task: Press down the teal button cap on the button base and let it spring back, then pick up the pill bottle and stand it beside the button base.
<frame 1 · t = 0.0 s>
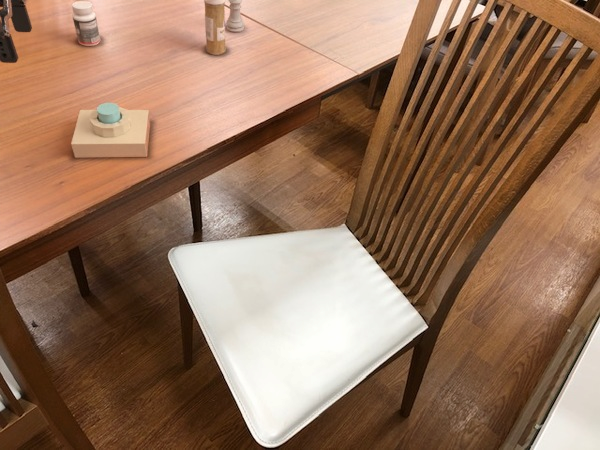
hand: (17, 45, 70), 21 cm above the table, tool pointing down, fingers open, 8 cm apart
rook chess piece: (235, 29, 125), on the table
teal button cap: (108, 113, 87), point 6 cm above the table, slide at 0.1 cm
button base: (114, 139, 91), on the table
sprinkles bottle: (215, 51, 117), on the table
pill bottle: (89, 42, 114), on the table
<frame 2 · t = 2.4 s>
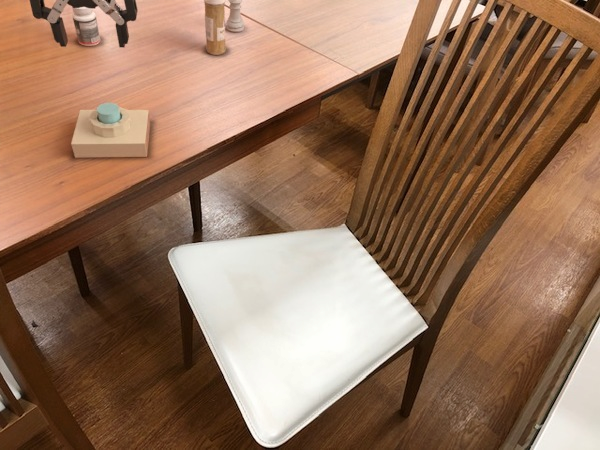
hand: (93, 44, 78), 18 cm above the table, tool pointing down, fingers open, 8 cm apart
nothing on the table moved.
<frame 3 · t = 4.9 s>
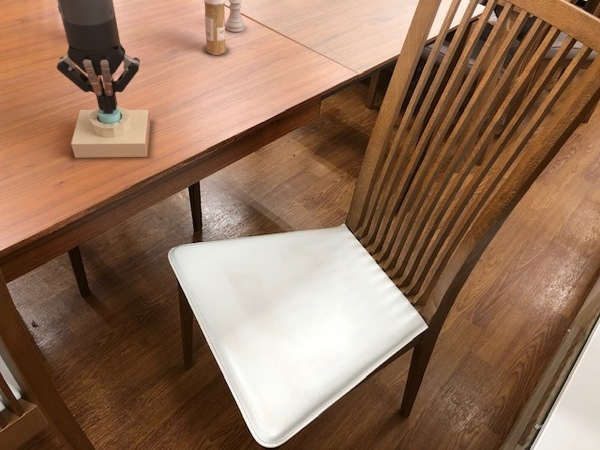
hand: (109, 110, 87), 6 cm above the table, tool pointing down, fingers closed
teal button cap: (109, 116, 88), point 5 cm above the table, slide at -0.5 cm, touching gripper
everything else where it was.
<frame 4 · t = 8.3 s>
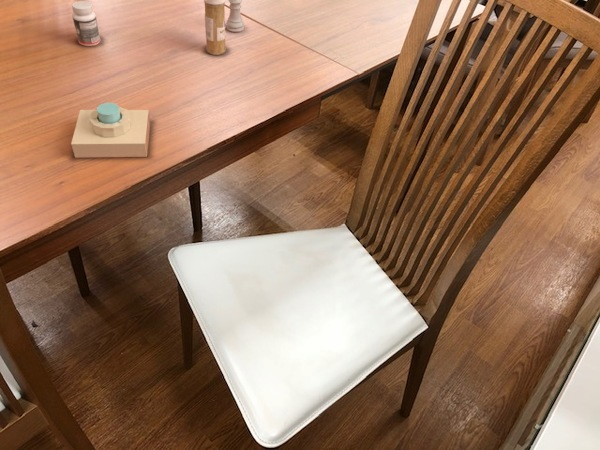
teal button cap: (108, 113, 87), point 6 cm above the table, slide at 0.1 cm
everything else where it was.
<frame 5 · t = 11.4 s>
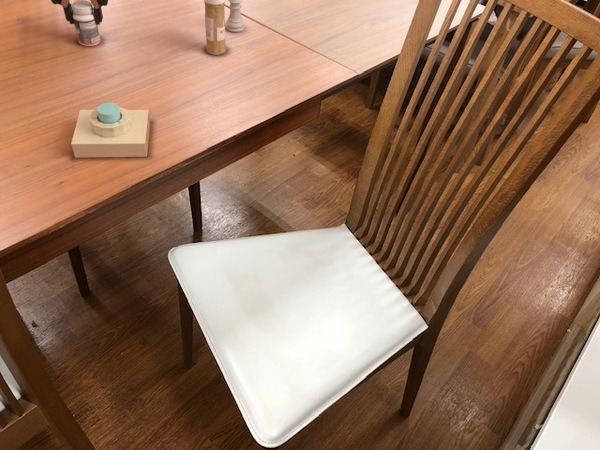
hand: (85, 22, 111), 4 cm above the table, tool pointing down, fingers closed on pill bottle, 4 cm apart
pill bottle: (89, 42, 114), on the table, touching gripper
everything else where it was.
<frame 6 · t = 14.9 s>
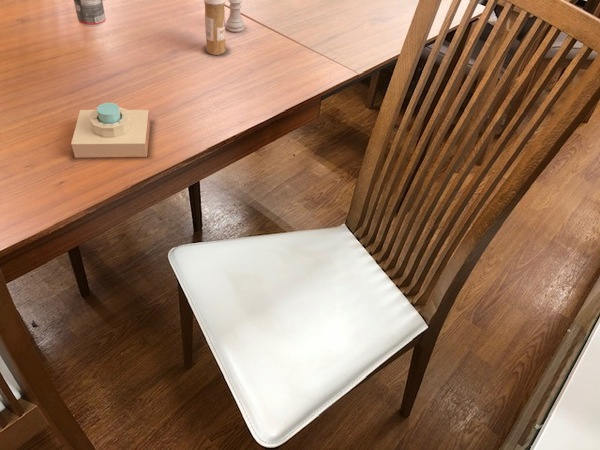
pill bottle: (92, 22, 92), point 14 cm above the table, touching gripper
everything else where it was.
when the fingers open (4 cm above the table, at t = 18.7 s): pill bottle stays where it is, on the table.
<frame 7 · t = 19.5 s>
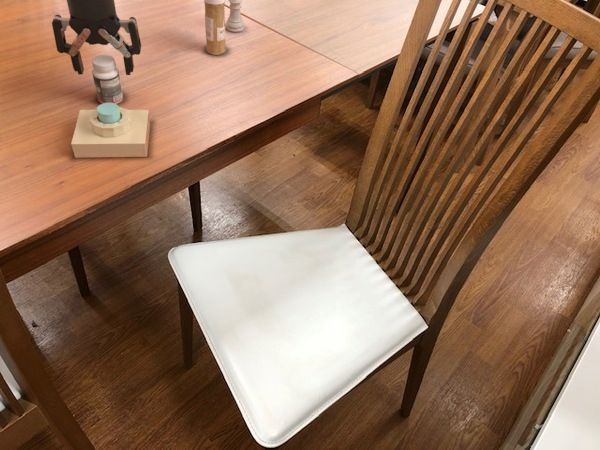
hand: (105, 72, 95), 6 cm above the table, tool pointing down, fingers open, 8 cm apart
pill bottle: (111, 99, 100), on the table
everything else where it was.
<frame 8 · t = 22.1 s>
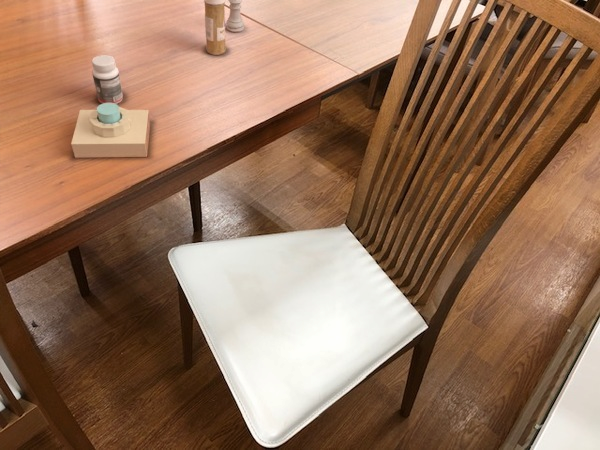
nothing on the table moved.
at the end: teal button cap pushed in 1.3 cm at the most during the clip, back to where it started at the end; teal button cap slide at 0.1 cm; pill bottle inside the target area on the table beside the button base (0.1 cm from its centre), on the table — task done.
